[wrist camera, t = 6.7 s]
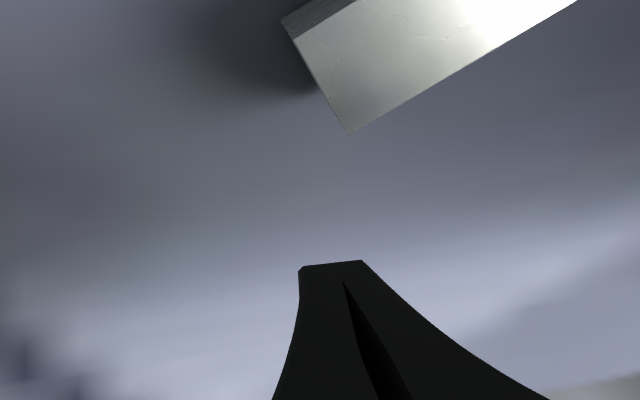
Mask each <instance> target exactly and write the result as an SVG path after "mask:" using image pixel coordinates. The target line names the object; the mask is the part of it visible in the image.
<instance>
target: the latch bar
mask: <svg viewBox="0 0 640 400" xmlns="http://www.w3.org/2000/svg"><path fill="white" fill-rule="evenodd" d="M574 1H576V0H311V1H310V2H308V3H306V4H305V5H303V6H302V7H300V8H298V9H297V10H295V11H294V12H292V13H290V14H289V15H287V16H286V17H284V18H282V19H281V20H280V21H281V23H282V24H283V26H284V28H285V30H286V31H287V33H288V35H289V37H290V38H291V40H292V42H293V43H294V45H295V47H296V49H297V50H298V52H299V54H300V56H301V57H302V59H303V61H304V63H305V64H306V66H307V68H308V70H309V71H310V73H311V75H312V77H313V78H314V80H315V82H316V83H317V85H318V87H319V89H320V90H321V92H322V94H323V96H324V97H325V99H326V101H327V102H328V104H329V106H330V107H331V109H332V110H333V112H334V114H335V115H336V117H337V118H338V120H339V122H340V123H341V125H342V126H343V128H344V130H345V131H346V133H347V135H350V134H351V133H353V132H355V131H356V130H358V129H360V128H362V127H363V126H365V125H367V124H368V123H370V122H372V121H373V120H375V119H377V118H378V117H380V116H382V115H383V114H385V113H387V112H389V111H390V110H392V109H394V108H395V107H397V106H399V105H400V104H402V103H404V102H405V101H407V100H409V99H411V98H412V97H414V96H416V95H417V94H419V93H421V92H422V91H424V90H426V89H427V88H429V87H431V86H432V85H434V84H436V83H438V82H439V81H441V80H443V79H444V78H446V77H448V76H449V75H451V74H453V73H454V72H456V71H458V70H459V69H461V68H463V67H465V66H466V65H468V64H470V63H471V62H473V61H475V60H476V59H478V58H480V57H481V56H483V55H485V54H487V53H488V52H490V51H492V50H493V49H495V48H497V47H498V46H500V45H502V44H503V43H505V42H507V41H508V40H510V39H512V38H514V37H515V36H517V35H519V34H520V33H522V32H524V31H525V30H527V29H529V28H530V27H532V26H534V25H535V24H537V23H539V22H541V21H542V20H544V19H546V18H547V17H549V16H551V15H552V14H554V13H556V12H557V11H559V10H561V9H563V8H564V7H566V6H568V5H569V4H571V3H573V2H574Z"/></svg>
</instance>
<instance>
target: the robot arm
mask: <svg viewBox="0 0 640 400" xmlns="http://www.w3.org/2000/svg"><path fill="white" fill-rule="evenodd" d="M298 280H299V307H298V312H297V317H296V323H295V328H294V332H293V337H292V340H291V344H290V347H289V351H288V354H287V357H286V361H285V364H284V367H283V370H282V373H281V376H280V379H279V382H278V384H277V387H276V390H275V392H274V395H273V397H272V400H549V399H548V398H546V397H544V396H542V395H540V394H538V393H536V392H535V391H533V390H531V389H529V388H527V387H525V386H523V385H522V384H520V383H518V382H516V381H515V380H513V379H511V378H510V377H508V376H506V375H505V374H503V373H501V372H500V371H498V370H497V369H495V368H493V367H492V366H490V365H489V364H487V363H486V362H484V361H483V360H481V359H479V358H478V357H476V356H475V355H473V354H472V353H470V352H469V351H467V350H466V349H465V348H463V347H462V346H460V345H459V344H457V343H456V342H455V341H453V340H452V339H451V338H450V337H448V336H447V335H446V334H444V333H443V332H442V331H440V330H439V329H438V328H436V327H435V326H434V325H433V324H431V323H430V322H429V321H428V320H427V319H425V318H424V317H423V316H422V315H421V314H420V313H418V312H417V311H416V310H415V309H414V308H413V307H412V306H410V305H409V304H408V303H407V302H406V301H405V300H404V299H402V298H401V297H400V296H399V295H398V294H397V293H396V292H395V291H394V290H393V289H392V288H391V287H390V286H388V285H387V284H386V283H385V282H384V281H383V280H382V279H381V278H380V277H379V276H378V275H377V274H376V273H375V272H374V271H373V270H372V269H371V268H370V267H369V266H368V265H367V264H366V263H364V262H363V261H362V260H354V261H345V262H336V263H327V264H318V265H309V266H303V267H302V268H301V269H300V270H299V271H298Z"/></svg>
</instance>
